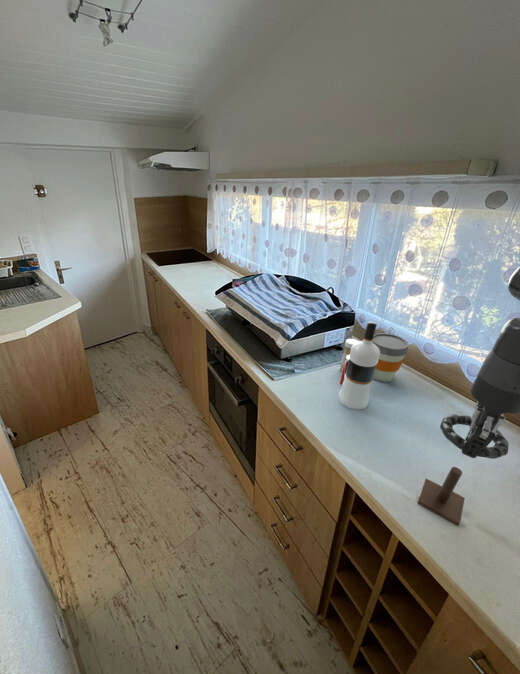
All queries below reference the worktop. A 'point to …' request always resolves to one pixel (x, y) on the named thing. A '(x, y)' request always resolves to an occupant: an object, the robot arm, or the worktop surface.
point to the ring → (446, 427)
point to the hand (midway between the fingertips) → (469, 450)
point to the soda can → (344, 370)
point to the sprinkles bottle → (347, 350)
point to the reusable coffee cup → (389, 355)
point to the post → (443, 497)
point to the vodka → (360, 371)
